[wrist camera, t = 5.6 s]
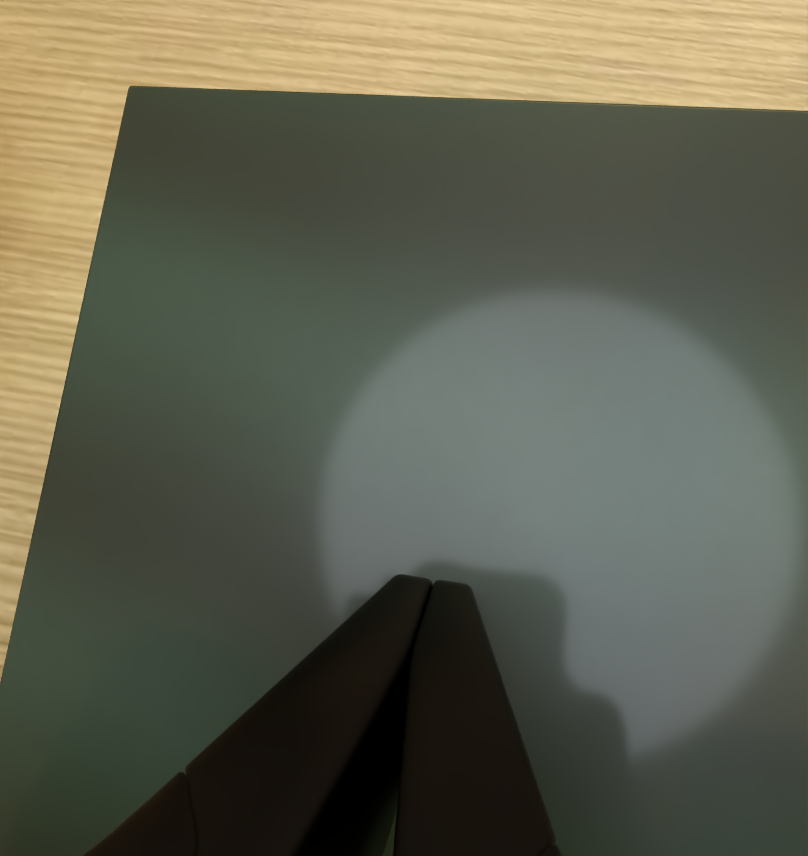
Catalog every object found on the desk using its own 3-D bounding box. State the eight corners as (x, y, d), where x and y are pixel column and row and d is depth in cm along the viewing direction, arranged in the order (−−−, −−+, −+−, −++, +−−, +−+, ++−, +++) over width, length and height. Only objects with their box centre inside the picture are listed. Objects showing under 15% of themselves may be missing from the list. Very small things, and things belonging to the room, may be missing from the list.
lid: (150, 112, 13) (127, 83, 13) (939, 146, 11) (970, 114, 11) (-57, 1099, 11) (-102, 1139, 10) (912, 1378, 9) (951, 1456, 8)
